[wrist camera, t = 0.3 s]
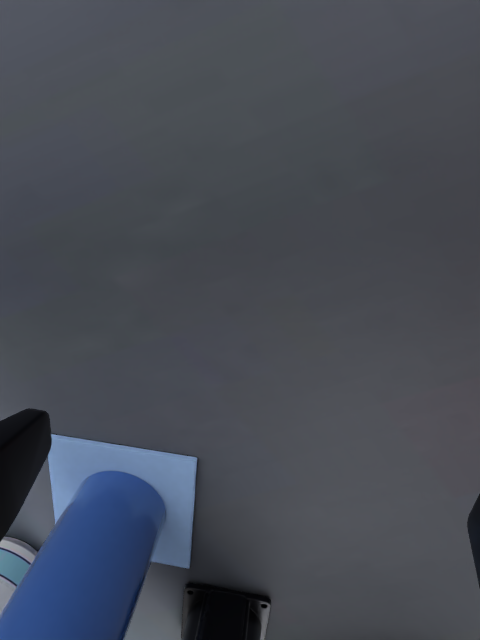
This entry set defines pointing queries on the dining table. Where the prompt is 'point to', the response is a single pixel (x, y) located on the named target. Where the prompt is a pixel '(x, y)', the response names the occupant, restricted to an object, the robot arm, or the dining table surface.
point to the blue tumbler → (89, 564)
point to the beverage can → (13, 565)
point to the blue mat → (151, 466)
